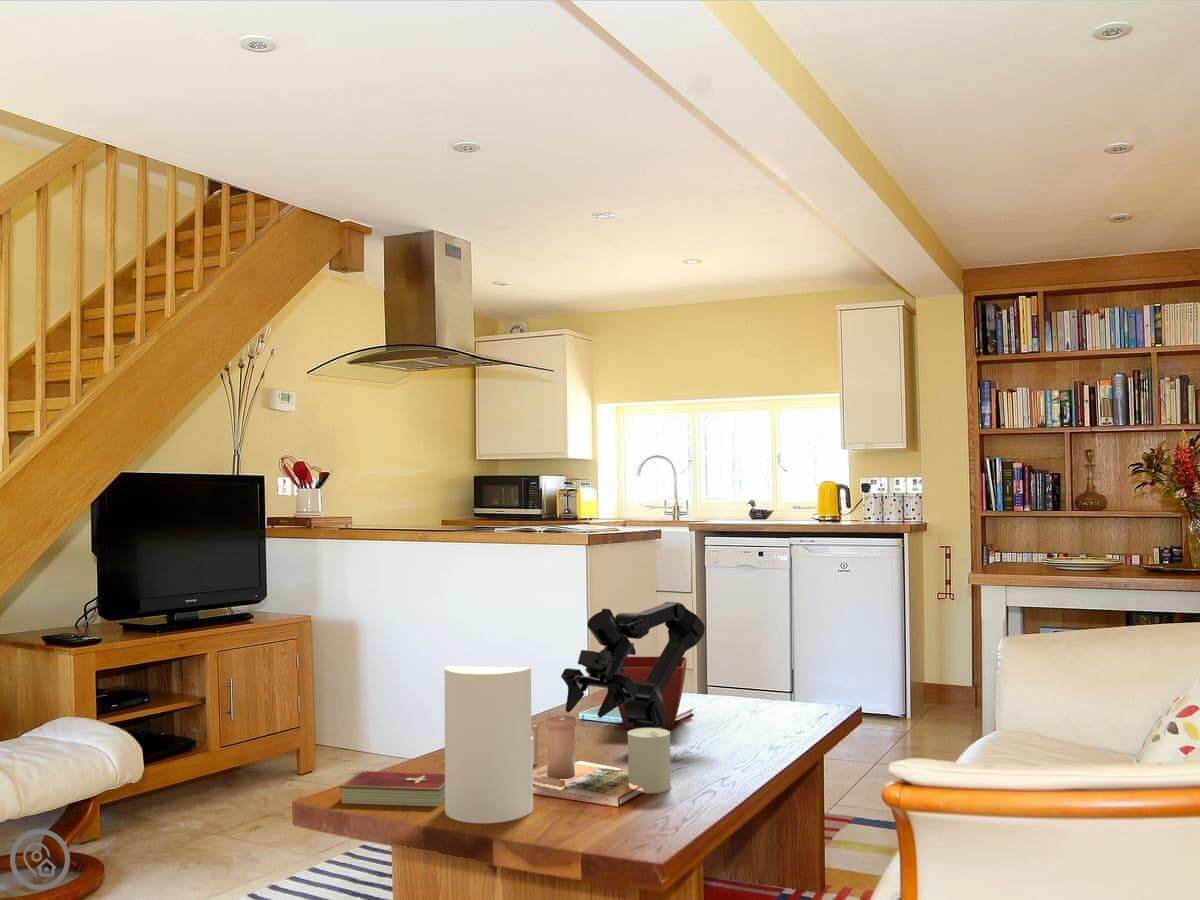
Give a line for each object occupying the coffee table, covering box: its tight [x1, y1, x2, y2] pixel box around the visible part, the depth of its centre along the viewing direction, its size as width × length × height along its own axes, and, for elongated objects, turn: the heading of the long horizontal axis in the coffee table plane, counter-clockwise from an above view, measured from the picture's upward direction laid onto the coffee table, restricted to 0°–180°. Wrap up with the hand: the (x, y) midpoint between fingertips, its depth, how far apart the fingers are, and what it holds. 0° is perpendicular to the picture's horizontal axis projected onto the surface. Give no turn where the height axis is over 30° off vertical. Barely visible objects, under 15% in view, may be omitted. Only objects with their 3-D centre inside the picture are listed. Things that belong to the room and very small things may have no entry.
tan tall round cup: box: [545, 714, 577, 779], centre depth 227 cm, size 7×7×13 cm
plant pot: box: [617, 656, 688, 730], centre depth 281 cm, size 19×19×17 cm
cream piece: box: [531, 724, 621, 787], centre depth 232 cm, size 21×19×9 cm
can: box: [626, 728, 672, 794], centre depth 221 cm, size 9×9×12 cm
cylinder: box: [444, 665, 534, 824], centre depth 206 cm, size 17×17×28 cm
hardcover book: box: [338, 770, 445, 807], centre depth 215 cm, size 12×21×4 cm, turn 82°
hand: (582, 714), depth 234 cm, fingers open, 9 cm apart
